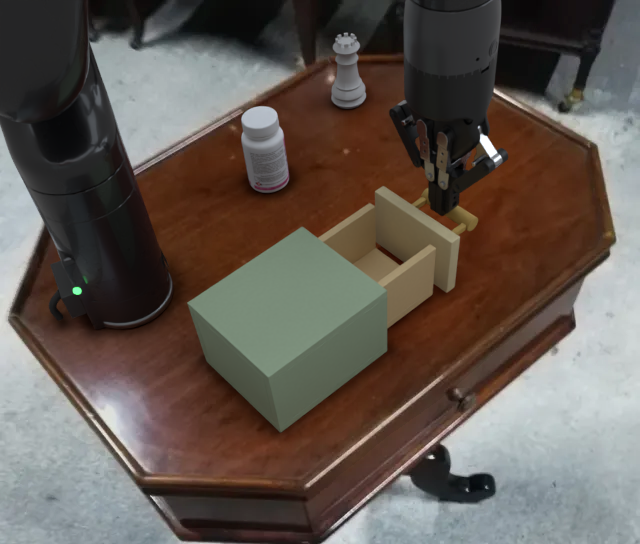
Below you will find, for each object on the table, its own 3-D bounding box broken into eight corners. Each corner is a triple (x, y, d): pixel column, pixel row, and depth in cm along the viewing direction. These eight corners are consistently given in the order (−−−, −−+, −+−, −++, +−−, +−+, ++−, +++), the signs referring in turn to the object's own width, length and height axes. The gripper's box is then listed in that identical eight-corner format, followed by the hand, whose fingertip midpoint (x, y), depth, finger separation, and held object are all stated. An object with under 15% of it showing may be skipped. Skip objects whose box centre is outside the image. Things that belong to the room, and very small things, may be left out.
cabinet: (309, 288, 78) (302, 225, 71) (387, 351, 73) (387, 290, 65) (206, 361, 74) (186, 302, 66) (280, 433, 68) (268, 377, 61)
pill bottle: (298, 179, 87) (290, 115, 80) (267, 200, 86) (256, 136, 79) (271, 161, 89) (262, 98, 82) (241, 181, 88) (228, 118, 81)
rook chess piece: (363, 111, 93) (361, 50, 87) (328, 109, 94) (323, 48, 87) (369, 90, 96) (367, 28, 89) (334, 88, 96) (331, 27, 90)
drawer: (416, 213, 81) (418, 161, 76) (488, 261, 77) (496, 210, 71) (294, 298, 76) (287, 249, 70) (364, 356, 71) (362, 308, 66)
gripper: (360, 34, 62) (370, 197, 76) (480, 99, 56) (466, 262, 70) (424, -6, 64) (422, 160, 78) (547, 52, 58) (519, 220, 73)
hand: (443, 208), depth 74 cm, fingers closed
